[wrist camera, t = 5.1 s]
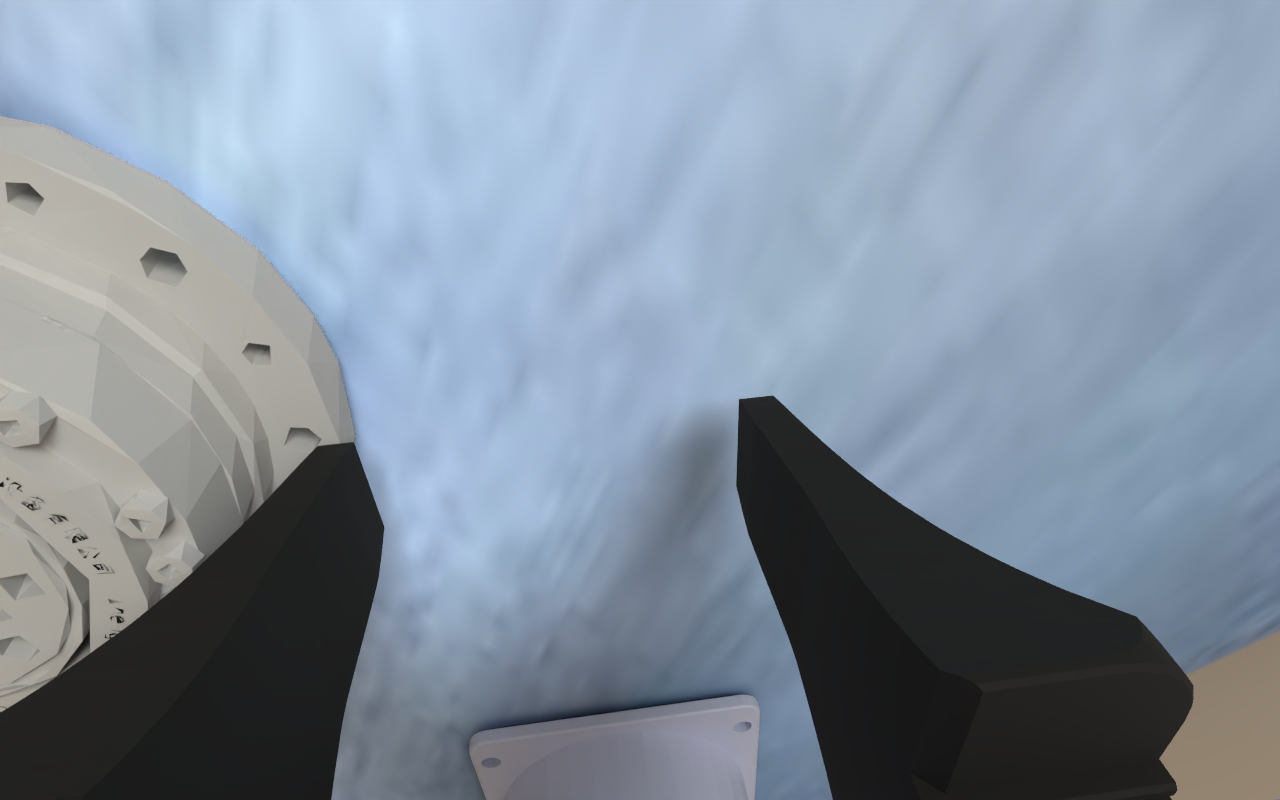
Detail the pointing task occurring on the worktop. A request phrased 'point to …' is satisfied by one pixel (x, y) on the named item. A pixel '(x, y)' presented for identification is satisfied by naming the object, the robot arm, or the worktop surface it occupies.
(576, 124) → the worktop surface
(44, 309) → the mechanical component
